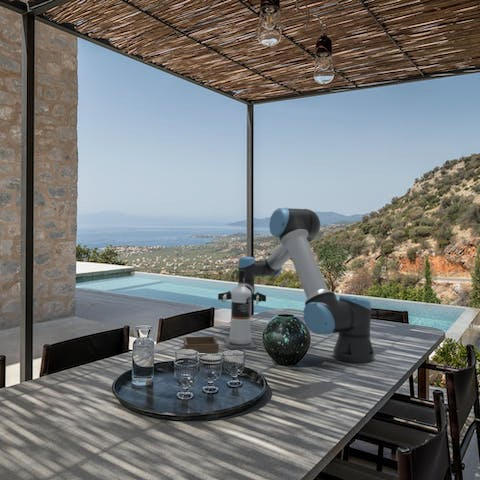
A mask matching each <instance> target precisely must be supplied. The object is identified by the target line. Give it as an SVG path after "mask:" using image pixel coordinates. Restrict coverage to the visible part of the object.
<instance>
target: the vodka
mask: <svg viewBox="0 0 480 480" xmlns="http://www.w3.org/2000/svg"><path fill="white" fill-rule="evenodd" d="M238 279H239V285H237V287H235V288H233V289H232V291H231V298H232V299H230V301H231V306H230V307H231V308H230V311H231V313H230V316H231V317H230V331H229V335H228V339H229V341H230V343H232V344H235V345H246V344H249V343H250V342H251V340H252V335H251V322H252V321H251V320H252V319H251V314H252V313H251V312H252V311H251V309H252V300H251V295H252V294H251V291H250V290H249V289H248V288H247V287H245V270H239V269H238Z"/></svg>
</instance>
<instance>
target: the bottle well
mask: <svg viewBox="0 0 480 480" xmlns="http://www.w3.org/2000/svg"><path fill="white" fill-rule="evenodd" d="M182 344H183V350H184V349H193V350H196V351H198V352H199V353H220V352H219V351H220V350H219V349H220V347H219V346H220V344H219V342H218V340H217V338H216V336H215V335H213V336H211V335H210V336H183V343H182Z"/></svg>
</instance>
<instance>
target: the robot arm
mask: <svg viewBox="0 0 480 480" xmlns="http://www.w3.org/2000/svg"><path fill="white" fill-rule="evenodd" d="M320 230H321V220H320V217H319V216H318V215H317V213H316V212H315V211H313V210H311V209H307V208H289V207H280V208H277V209H275V210H274V211H273V212H272V214H271V216H270V219H269V231H270V234H271V236H273V237H275V238H279V240H280V244H279V246H278V247H277V248H276V249H275V250H274V251H273V252H272V253H271V254H270V255H269V256H268V257H267V258H266V259H265V260H256V259H255V257H253V256H240V257H239V259H238V266H237V267H238V271H239V270H245V287H247V288H248V289H249V290H250V291H251V294H252V295H251V301H256V302H255V304H256V305H259V303H260V302H265V303H266V302H267V294H266V295H265V294H263V293H260V292H258V291H257V292H255V277H276V276H279V275H280V274H281V272H282V269H283V266H284V265H285V263H287V262H288V261H289V260H290V259H291V261H292V263H293V266H294V269H295V271H296V273H297V276H298V278H299V281H300V283H301V287H302V289H303V291H304V295H305V296H306V300H305V302H304V308H303V315H302V316H303V321H304V323H305V325H306V327H307V329H308V330H309V331H310V332H312V333H314V334H315V335H324V336H325V335H326V336H327V335H330V334H336V333H337V334H338V337H337V340H336V342H335V345H334V348H333V350H332V351H333V353H332V354H333V357H334V358H335V359H337V360H339V361H343V362H349V363H356V364H357V363H370V362H373V361H374V360H375V351H374V347H373V345H372V344H373V343H372V342H371V320H372V318H371V317H372V308H371V307H372V305H371V301H370V300H369V299H368V298H364V297H357V296H351V295H340V296H339V298H337V297H336V294H335V291H332V290H329V288H328V285H327V284H326V281H325V279H324V276H323V274H322V272H321V269H320V267H319V264H318V262H317V260H316V258H315V255H314V252H313V249H312V248H311V245H310V243H311V242H312V241H313V240H314V239H315V238H316V237H317V235H318V234H319V232H320ZM237 280H238V281H237V282H238V283H237V284H238V285H239V278H238V279H237ZM238 285H237V286H238ZM231 293H232V291H231V290H230V291H226V292H221V293H218V294H217V300H219V301H221V302H222V304H225V303H226V302H227V301H228V300H230V301H231V299H232V298H231Z"/></svg>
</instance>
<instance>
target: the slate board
mask: <svg viewBox="0 0 480 480" xmlns="http://www.w3.org/2000/svg"><path fill="white" fill-rule="evenodd" d="M224 342H226V343H227V345H228V346H227V345H226V346H227V348H228V347H229V348H228V350H229V349H238V350H237V351H239V350H244V351H245V350H257V348H258V346H257V345H256V344H255V343H254V341H253V339H251V342H250V343H249V344H246V345H235V344H232V343H230V341H229V338H224ZM226 343H225V344H226Z"/></svg>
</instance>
